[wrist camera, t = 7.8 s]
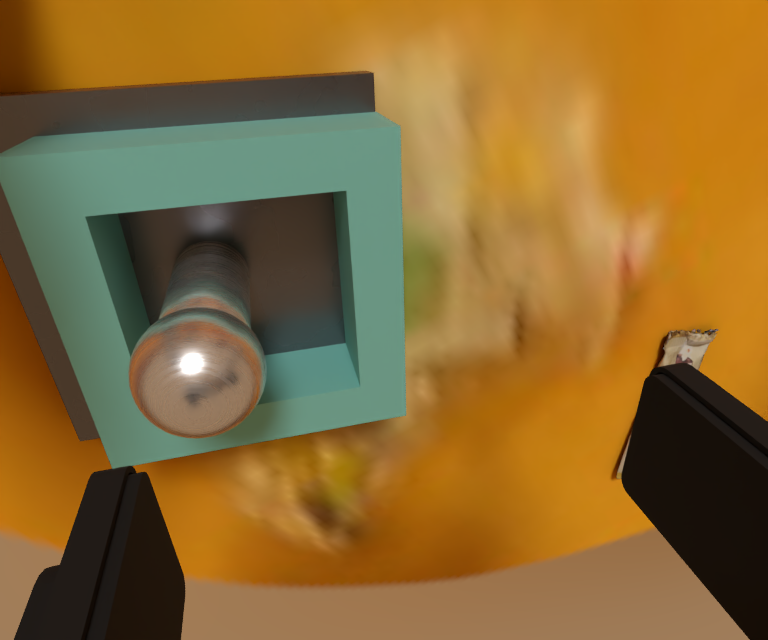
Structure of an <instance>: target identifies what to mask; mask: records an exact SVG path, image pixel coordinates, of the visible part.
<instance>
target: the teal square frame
mask: <svg viewBox="0 0 768 640" xmlns="http://www.w3.org/2000/svg"><path fill="white" fill-rule="evenodd" d="M0 183H1V186H2V188H3V191H4V193H5V196H6V198H7V201H8V204H9V206H10V209H11V211H12V214H13V216H14V219H15V221H16V224H17V227H18V229H19V232H20V234H21V237H22V239H23V242H24V244H25V247H26V250H27V252H28V255H29V257H30V260H31V262H32V265H33V267H34V270H35V273H36V275H37V278H38V280H39V283H40V285H41V288H42V290H43V293H44V295H45V298H46V301H47V303H48V306H49V308H50V311H51V313H52V316H53V318H54V321H55V324H56V326H57V329H58V331H59V334H60V336H61V339H62V341H63V344H64V347H65V349H66V352H67V354H68V357H69V359H70V362H71V364H72V367H73V370H74V372H75V375H76V377H77V380H78V382H79V385H80V387H81V390H82V393H83V395H84V398H85V400H86V403H87V405H88V408H89V410H90V413H91V415H92V418H93V421H94V423H95V426H96V428H97V431H98V433H99V436H100V438H101V441H102V444H103V446H104V449H105V451H106V454H107V456H108V459H109V461H110V464H111V467H112V469H114V468H119V467H124V466H134V465H139V464H145V463H150V462H156V461H161V460H166V459H172V458H177V457H183V456H188V455H194V454H199V453H204V452H210V451H215V450H221V449H226V448H232V447H237V446H242V445H248V444H253V443H259V442H264V441H270V440H275V439H281V438H286V437H291V436H297V435H302V434H308V433H313V432H319V431H324V430H329V429H335V428H340V427H346V426H351V425H357V424H362V423H367V422H373V421H378V420H384V419H389V418H395V417H400V416H406V383H405V333H404V283H403V233H402V184H401V134H400V126H399V125H398V124H396V123H394V122H392V121H391V120H389V119H387V118H386V117H384V116H382V115H381V114H379V113H377V112H367V113H353V114H339V115H325V116H312V117H298V118H284V119H270V120H256V121H243V122H229V123H215V124H201V125H187V126H174V127H160V128H146V129H132V130H118V131H104V132H91V133H77V134H63V135H49V136H35V137H32V138H30V139H28V140H26V141H24V142H22V143H20V144H18V145H16V146H14V147H12V148H10V149H8V150H6V151H4V152H2V153H0ZM327 192H333V199H334V211H335V223H336V234H337V246H338V258H339V270H340V282H341V294H342V306H343V317H344V329H345V341H346V343H343V344H336V345H330V346H323V347H317V348H310V349H304V350H297V351H291V352H284V353H278V354H271V355H265V358H266V365H267V374H266V383H265V387H264V391H263V393H262V396H261V398H260V400H259V402H258V403H257V405H256V407H255V408H254V410H253V411H252V412H251V413H250V414H249V415H248V416H247V417H246V418H245V419H244V420H243V421H242V422H241V423H240V424H238V425H237V426H235V427H234V428H232V429H230V430H228V431H226V432H224V433H222V434H219V435H216V436H211V437H206V438H185V437H179V436H175V435H172V434H169V433H167V432H165V431H163V430H161V429H159V428H158V427H156V426H155V425H153V424H152V423H151V422H150V421H149V420H147V419H146V418H145V416H144V415H143V414H142V413H141V411H140V410H139V409H138V407H137V405H136V404H135V402H134V399H133V397H132V394H131V391H130V387H129V376H128V371H129V363H130V359H131V355H132V352H133V350H134V348H135V346H136V344H137V342H138V340H139V339H140V337H141V336H142V335H143V334H144V332H145V331H146V330H147V329H148V328H149V327H150V323H149V320H148V316H147V313H146V309H145V306H144V302H143V299H142V296H141V292H140V289H139V285H138V282H137V278H136V275H135V272H134V268H133V265H132V261H131V258H130V254H129V251H128V247H127V244H126V241H125V237H124V234H123V230H122V227H121V223H120V220H119V217H118V213H126V212H136V211H146V210H156V209H166V208H176V207H186V206H196V205H206V204H216V203H226V202H236V201H246V200H256V199H266V198H276V197H287V196H297V195H307V194H317V193H327Z"/></svg>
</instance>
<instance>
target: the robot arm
mask: <svg viewBox="0 0 768 640" xmlns="http://www.w3.org/2000/svg"><path fill="white" fill-rule="evenodd" d="M621 479H622V484H623V487H624V489H625V491H626V492H627V493H628V495H629V496H630V497H631V498H632V499H633V501H634V502H635V503H636V504H637V505H638V507H639V508H640V509H641V510H642V511H643V513H644V514H645V515H646V516H647V517H648V519H649V520H650V521H651V522H652V523H653V525H654V526H655V527H656V528H657V529H658V531H659V532H660V533H661V534H662V535H663V537H664V538H665V539H666V540H667V541H668V542H669V544H670V545H671V546H672V547H673V548H674V550H675V551H676V552H677V553H678V554H679V556H680V557H681V558H682V559H683V560H684V561H685V563H686V564H687V565H688V566H689V568H690V569H691V570H692V571H693V572H694V574H695V575H696V576H697V577H698V578H699V580H700V581H701V582H702V583H703V584H704V586H705V587H706V588H707V589H708V590H709V591H710V593H711V594H712V595H713V596H714V597H715V599H716V600H717V601H718V602H719V603H720V604H721V606H722V607H723V608H724V609H725V611H726V612H727V613H728V614H729V615H730V617H731V618H732V619H733V620H734V621H735V623H736V624H737V625H738V626H739V627H740V628H741V630H742V631H743V632H744V633H745V634H746V636H747V637H748V638H749V639H750V640H768V422H767V421H766V420H765V419H763V418H762V417H760V416H759V415H758V414H756V413H755V412H754V411H752V410H751V409H750V408H748V407H747V406H746V405H744V404H743V403H742V402H740V401H739V400H738V399H736V398H735V397H733V396H732V395H731V394H729V393H728V392H727V391H725V390H724V389H723V388H721V387H720V386H719V385H717V384H716V383H715V382H713V381H712V380H711V379H709V378H708V377H706V376H705V375H704V374H702V373H701V372H700V371H698V370H697V369H696V368H694V367H693V366H691V365H690V364H688V363H676V364H671V365H666V366H660V367H656V368H654V369H653V370H652V371H651V373H650V375H649V377H647V378H646V379H645V381H644V385H643V389H642V393H641V397H640V401H639V405H638V409H637V413H636V417H635V421H634V425H633V429H632V433H631V437H630V441H629V445H628V449H627V453H626V457H625V461H624V466H623V470H622V474H621ZM184 602H185V581H184V575H183V572H182V569H181V566H180V563H179V560H178V558H177V555H176V552H175V549H174V546H173V544H172V541H171V538H170V535H169V532H168V529H167V527H166V524H165V521H164V518H163V515H162V513H161V510H160V507H159V504H158V501H157V499H156V496H155V493H154V490H153V487H152V484H151V482H150V479H149V476H148V474H147V473H146V472H141V473H136V471H135V469H134V468H133V467H132V466H124V467H119V468H114V469H108V470H103V471H98V472H94V473H93V474H91V476H90V478H89V481H88V484H87V487H86V490H85V493H84V495H83V498H82V501H81V504H80V507H79V510H78V513H77V516H76V519H75V522H74V525H73V528H72V531H71V534H70V537H69V540H68V543H67V545H66V548H65V551H64V554H63V557H62V560H61V563H60V565H57V566H52V567H49V568H46V569H44V571H43V572H42V573H41V574H40V575H39V577H38V579H37V581H36V583H35V585H34V587H33V590H32V592H31V595H30V598H29V600H28V603H27V606H26V609H25V612H24V614H23V617H22V619H21V622H20V625H19V627H18V630H17V633H16V635H15V638H14V640H181V632H182V622H183V612H184Z"/></svg>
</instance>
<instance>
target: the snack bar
mask: <svg viewBox="0 0 768 640" xmlns="http://www.w3.org/2000/svg"><path fill="white" fill-rule="evenodd" d="M695 331H697V332H699V333H700V330H699V329H698V330H695V329H694V330H693V331H692V332H693V333H694V334H692V333H690V332H689V331H683V330H681V331H677V330H676V331H670V332H669V335H667V337H666V340H665V343H664V348H662V349H664V350H665V353H664V356H663V357H662V359H661V361H660V362H659V364H658V366H657V367H660V366H666V365H671V364H676V363H688V364H690V365H691V366H693V367H694V368H696V369H697V370H698V369H699V367H700V364H701V362H702V359H703V356H704V353H705V352H706V350H707V347H708V345H709V343H710V342H711V341H713V339H714V338H715V336H716V334H717V333H715V332H716V331H718V329H715V330H711V329H710V330H708V331H705V332H704V333H705V334H702V333H701V334H699V333H695ZM709 332H711V334H710V335H708V333H709ZM632 429H633V428H632ZM631 433H632V431H631ZM630 437H631V435H630ZM630 437H629V440H628V443H627V445H626V448H625V450H624V454H623V456H622V459H621V463H620V465H619V468H618V471H617V476H616V478H617V479H621V474H622V470H623V466H624V461H625V457H626V453H627V449H628V445H629V441H630Z"/></svg>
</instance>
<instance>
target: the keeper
mask: <svg viewBox="0 0 768 640" xmlns="http://www.w3.org/2000/svg"><path fill="white" fill-rule="evenodd" d="M367 112H375V96H374V74H373V73H372V72H369V71H358V72H341V73H325V74H309V75H293V76H277V77H261V78H244V79H228V80H212V81H196V82H180V83H164V84H148V85H131V86H115V87H99V88H83V89H67V90H51V91H34V92H18V93H2V94H0V153H2V152H4V151H6V150H8V149H10V148H12V147H14V146H16V145H18V144H20V143H22V142H24V141H26V140H28V139H30V138H32V137H35V136H49V135H63V134H77V133H91V132H104V131H118V130H132V129H146V128H160V127H174V126H187V125H201V124H215V123H229V122H243V121H256V120H270V119H284V118H298V117H312V116H325V115H339V114H353V113H367ZM118 217H119V220H120V223H121V227H122V230H123V234H124V237H125V241H126V244H127V247H128V251H129V254H130V258H131V261H132V265H133V268H134V272H135V275H136V278H137V282H138V285H139V289H140V292H141V296H142V299H143V302H144V306H145V309H146V313H147V316H148V320H149V323H150V327H149V328H148V329H147V330H146V331H145V332H144V334H143V335H142V336H141V337H140V339H139V340H138V342H137V344H136V346H135V348H134V350H133V352H132V355H131V359H130V363H129V371H128V376H129V387H130V391H131V394H132V397H133V399H134V402H135V404H136V405H137V407H138V409H139V410H140V411H141V413H142V414H143V415H144V416H145V418H146V419H147V420H149V421H150V422H151V423H152V424H153V425H155V426H156V427H158V428H159V429H161V430H163V431H165V432H167V433H169V434H172V435H175V436H179V437H185V438H206V437H211V436H216V435H219V434H222V433H224V432H226V431H228V430H230V429H232V428H234V427H235V426H237V425H238V424H240V423H241V422H242V421H243V420H244V419H245V418H246V417H247V416H248V415H249V414H250V413H251V412H252V411H253V410H254V408H255V407H256V405H257V403H258V402H259V400H260V398H261V396H262V393H263V391H264V387H265V383H266V374H267V365H266V358H265V355H271V354H278V353H284V352H291V351H297V350H304V349H310V348H317V347H323V346H330V345H336V344H343V343H346V341H345V329H344V317H343V306H342V294H341V282H340V270H339V258H338V246H337V234H336V223H335V211H334V199H333V192H327V193H317V194H307V195H297V196H287V197H276V198H266V199H256V200H246V201H236V202H226V203H216V204H206V205H196V206H186V207H176V208H166V209H156V210H146V211H136V212H126V213H118ZM0 254H1V256H2V258H3V261H4V263H5V265H6V268H7V270H8V273H9V275H10V277H11V280H12V282H13V284H14V287H15V289H16V291H17V294H18V296H19V298H20V301H21V303H22V306H23V308H24V310H25V313H26V315H27V317H28V320H29V322H30V324H31V327H32V329H33V332H34V334H35V336H36V339H37V341H38V343H39V346H40V348H41V350H42V353H43V355H44V357H45V360H46V362H47V365H48V367H49V369H50V372H51V374H52V376H53V379H54V381H55V383H56V386H57V388H58V390H59V393H60V395H61V398H62V400H63V402H64V405H65V407H66V409H67V412H68V414H69V416H70V419H71V421H72V423H73V426H74V428H75V431H76V433H77V435H78V438H79V440H80V441H84V440H90V439H96V438H100V436H99V433H98V431H97V428H96V426H95V423H94V421H93V418H92V415H91V413H90V410H89V408H88V405H87V403H86V400H85V398H84V395H83V393H82V390H81V387H80V385H79V382H78V380H77V377H76V375H75V372H74V370H73V367H72V364H71V362H70V359H69V357H68V354H67V352H66V349H65V347H64V344H63V341H62V339H61V336H60V334H59V331H58V329H57V326H56V324H55V321H54V318H53V316H52V313H51V311H50V308H49V306H48V303H47V301H46V298H45V295H44V293H43V290H42V288H41V285H40V283H39V280H38V278H37V275H36V273H35V270H34V267H33V265H32V262H31V260H30V257H29V255H28V252H27V250H26V247H25V244H24V242H23V239H22V237H21V234H20V232H19V229H18V227H17V224H16V221H15V219H14V216H13V214H12V211H11V209H10V206H9V204H8V201H7V198H6V196H5V193H4V191H3V188H2V186H1V183H0Z"/></svg>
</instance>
